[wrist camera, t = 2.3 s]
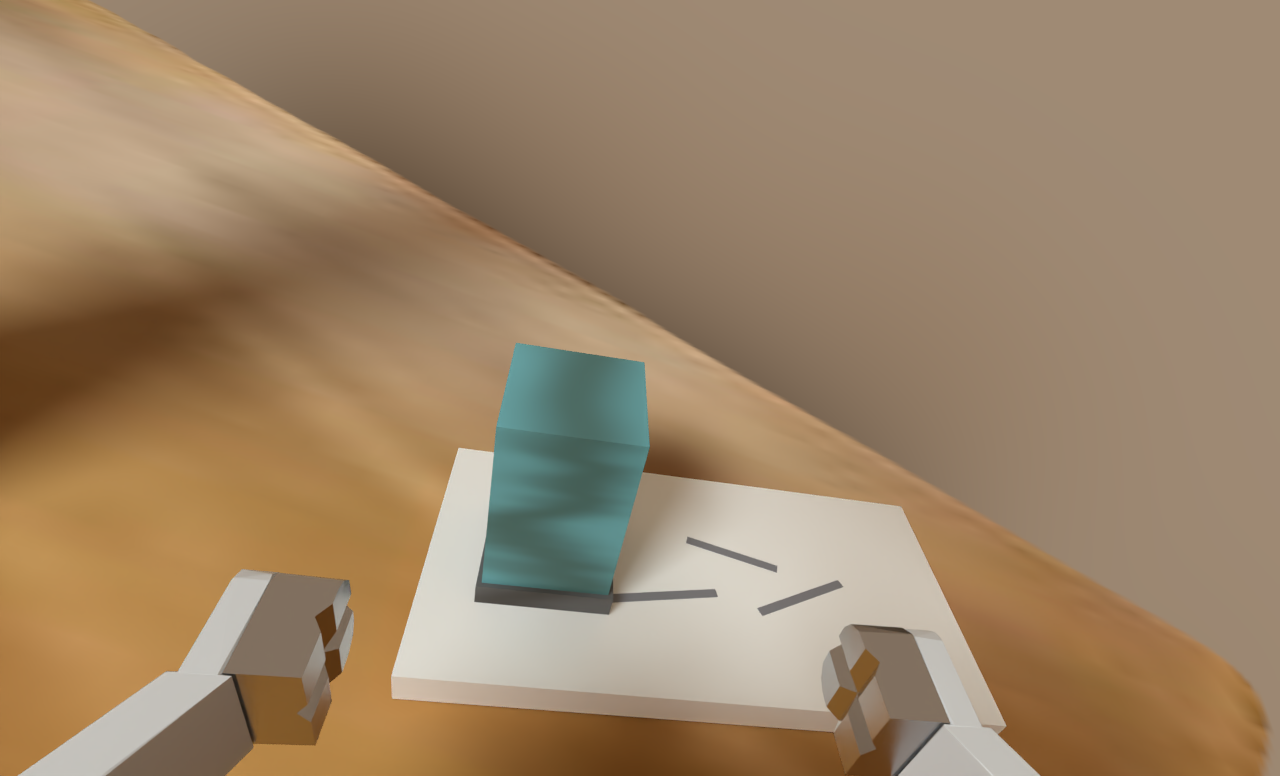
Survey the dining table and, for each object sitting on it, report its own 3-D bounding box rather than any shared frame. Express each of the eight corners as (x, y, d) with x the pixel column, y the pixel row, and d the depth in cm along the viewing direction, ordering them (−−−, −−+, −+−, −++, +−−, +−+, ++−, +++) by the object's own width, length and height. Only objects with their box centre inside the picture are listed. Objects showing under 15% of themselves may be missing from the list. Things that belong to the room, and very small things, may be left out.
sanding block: (474, 601, 26) (488, 429, 20) (494, 502, 30) (511, 339, 25) (608, 614, 26) (655, 452, 21) (609, 515, 31) (649, 360, 26)
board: (391, 698, 24) (391, 675, 23) (457, 469, 33) (458, 447, 32) (987, 743, 27) (1007, 725, 26) (889, 524, 37) (901, 506, 36)
